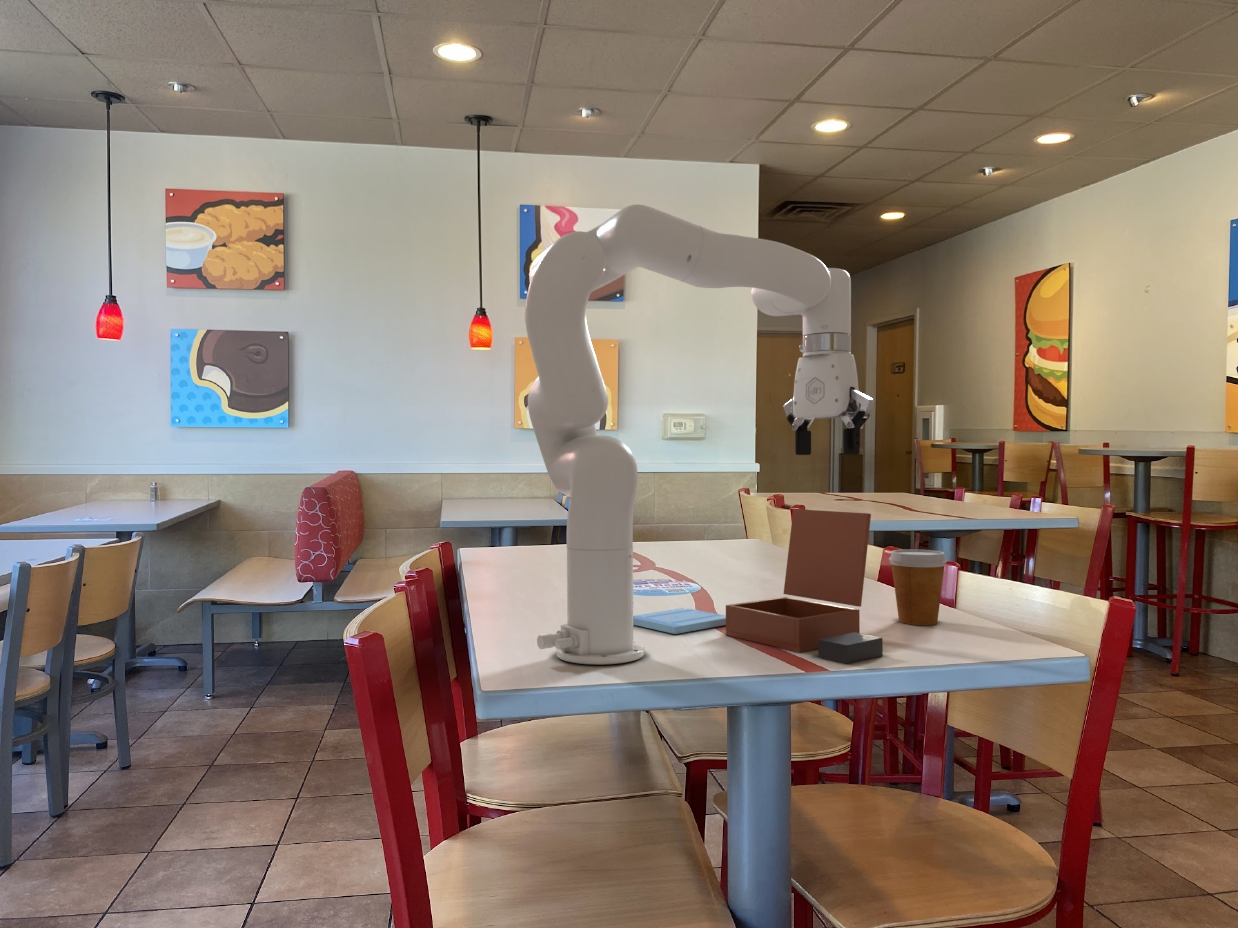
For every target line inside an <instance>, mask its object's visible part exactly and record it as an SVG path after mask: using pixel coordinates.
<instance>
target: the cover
mask: <svg viewBox="0 0 1238 928" xmlns="http://www.w3.org/2000/svg"><path fill="white" fill-rule="evenodd" d="M871 519H872V513H867V512H853V511H850V512H849V511H835V510H834V511H832V510H817V509H801V508H800V509H799V508H793V509H792V518H791V526H790V534H789V544H788V551H787V559H786V568H785V577H784V585H783V595H787V596H793V597H798V598H805V599H810V600H817V601H823V602H829V603H835V604H841V605H846V606H853V607H859V608H861V607H862V602H863V595H864V594H863V592H864V583H865V574H866V564H867V558H868V557H867V555H868V546H869V539H870V527H871Z"/></svg>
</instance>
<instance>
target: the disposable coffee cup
mask: <svg viewBox="0 0 1238 928" xmlns="http://www.w3.org/2000/svg"><path fill="white" fill-rule="evenodd" d="M888 561H889V563H890V565H891V570H892V577H893V578H892V579H893V586H894V593H895V594H894V595H895V601H896V609H897V616H898V617H897V618H898V621H899V622H900V623H902V624H907V625H913V626H914V625H915V626H932V625H937V624H938V621H939V613H940V605H941V597H942V591H943V590H942V589H943V581H944V574H945V566H946V565H947V563H948V559H947V558H946V554H945V552H943V551H939V550H933V549H931V550H930V549H895V550H891V552H890V557H889V558H888Z"/></svg>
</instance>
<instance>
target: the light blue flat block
mask: <svg viewBox="0 0 1238 928" xmlns="http://www.w3.org/2000/svg"><path fill="white" fill-rule="evenodd" d="M633 626H637V627H641V628H647V629H651V630H656V631H660V632H664V633H669V634H674V635H677V634H683V633H688V632H695V631H699V630H700V631H701V630H706V629H710V628H716V627H721V626H726V614H725V615H724V614H720V613H718V614H717V613H715V612H708V611H705V610H704V611H703V610H698V609H693V608H683V607H680V608H674V609H667V610H662V611H655V612H648V613H641V614H636V615H635V614H634V615H633Z"/></svg>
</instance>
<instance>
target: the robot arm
mask: <svg viewBox="0 0 1238 928" xmlns="http://www.w3.org/2000/svg"><path fill="white" fill-rule="evenodd" d="M637 268H642V269H646V270H648V271H650V272H654V273H657V274H659V275H662V276H665V277H668V278H671V279H672V280H673V279H674V280H676V281H679V282H682V283H685V284H688V285H690V286H692V287H695V288H702V289H726V288H751V300H752V303H753V305H754V306H755V308H756V309H757V310H759V312H761V313H763V314H765V315H767V316H771V317H785V316H798V315H800V316H802V343H801V344H800V345H799V346H798V349H799V352H800V353H802V357H799V358H798V360H797V365H796V370H795V374H794V383H793V397H792V398H791V399H790V400H789V401H787V402H786V403H784V405H783V406H782V408H783V411H784V413H785V416H786V420H787V422H788V423H789V425H790V426H791V429H792V431H794V432H795V434H794V437H795V438H794V439H795V440H794V441H795V443H794V444H795V450H794V451H795V455H796V456H810V455H811V454H812V430H809V428H810V427H811V425H812V424H813V422H814V421H815V419H816V420H824V419H825V420H826V419H841V421H842V422H843V423H844V425H845V426H846V428H843V431H842V433H843V435H842V438H843V440H842V441H843V442H842V443H843V445H842V446H843V447H842V448H843V451H842V453H843V454H844V455H849V456H850V455H852V456H853V455H855V456H857V455H860V447H861V430H862V429H863V428H864V426H865V423H866V422H867V421H868V419H869V418H870V416H871V415H870V413H871V412H872V410H873V407H874V405H875V399H874V398H872V397H870V396H869V395H866V394H865V393H862V392H861V391H860V389H859V379H858V371H857V365H856V360H855V355H854V354H852V279H851V276H850V273H849V272H848V271H847V270H845V269H841V268H837V267H827V266H826V265H825V264H824V262H823V261H822V260H820V258H818V257H816V256H815V255H813V254H811V253H808V252H806V251H804V250H801V249H799V248H796V247H793V246H791V245H788V244H786V243H782V242H778V241H775V240H770V239H765V238H758V237H750V236H745V235H739V234H728V233H721V232H717V231H714V230H712V229H708V228H705V227H703V226H701V225H698V224H695V223H692V222H690V221H688V220H685V219H683V218H680V217H677V216H675V215H673V214H670V213H667V212H664V211H662V210H659V209H658V208H654V207H651V206H649V205H645V204H630V205H627V206H625V207H623V208H622V209H620V210H618V211H617V212H616V213H615V214H613V215H612V216H611V217H609V218H608V219H606V220H605V221H603V222H602V223H601V224H598V225H597V226H595V227H594V228H591V230H588V231H579V230H578V231H577V230H576V231H571V232H568V233H565V234H564V235H562V236H560V237H559V238H557V239H556V240H555V241H553V242H552V243H551V244H550V245H549V246H548V247H547V248H545V249H544V250H543V251H542V252H541V253H539V254H538V255H537V257H535V259H534V261H533V262H532V264H531V266H530V269H529V273H528V275H529V279H528V280H529V286H528V288H527V293H526V299H525V308H524V322H525V330H526V334H527V335H526V336H527V338H528V343H529V347H530V350H531V354H532V358H533V362H534V366H535V369H536V371H537V377H536V379H534V381H533V383H532V384H531V386H530V388H529V391H528V395H527V408H528V415H529V419H530V422H531V426H532V429H533V432H534V435H535V439H536V441H537V444H538V447H539V450H540V453H541V457H542V459H543V463H544V466H545V469H546V472H547V474H548V477H549V478H550V481H551V482H552V484H553V486H554V487H555V488H556V490H558V492H560V494H562V495H564V496H566V497H568V498H569V505H568V509H567V510H568V511H567V519H566V592H567V593H566V623H565V624H560V629H559V630H557V631H556V632H555V633H546V634H540V635H538V636H537V638H536V644H537V647H538V649H540V650H545V649H552V648H555V649H556V656H557V658H558V659H560V660H563V661H565V662H568V663H574V664H579V665H581V664H582V665H597V666H599V665H600V666H601V665H616V664H617V665H618V664H624V663H631V662H633V661H637V660H639V659H641V658H643V657H644V655H645V647H644V645H643V644H641V643H640V642H636V641H634V625H633V616H634V545H633V544H634V542H633V541H634V539H633V536H634V534H633V533H634V531H633V530H634V510H635V508H634V507H635V501H636V496H637V495H636V493H637V488H638V477H639V476H638V475H639V474H638V473H639V472H638V464H637V460H636V458H635V455H634V453H633V452H632V450H631V449H630V448H629V447H628V446H627V444H625V442H623V441H622V440H620V439H618V438H617V437H613V436H611V435H605V434H604V435H603V434H601V435H600V434H598V431H597V428H596V424H597V423H599V422H600V421H601V420H602V419H603V417H604V416H605V415H606V413H607V410H608V406H609V398H608V397H609V396H608V391H607V390H608V389H607V388H606V384H605V381H604V378H603V375H602V372H601V368H600V365H599V363H598V360H597V355H596V353H595V350H594V347H593V344H592V341H591V337H590V332H589V328H588V324H587V308H588V307H587V306H588V303H589V298H590V296H591V294H592V293H593V292H594V291H597V290H599V289H601V288H603V287H605V286H607V285H608V284H610V283H613V282H614V281H616V280H617V279H619V278H621V277H623V276H624V275H626V274H628V273H630V272H632V271H633V270H636V269H637ZM859 405H860V406H859Z"/></svg>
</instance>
